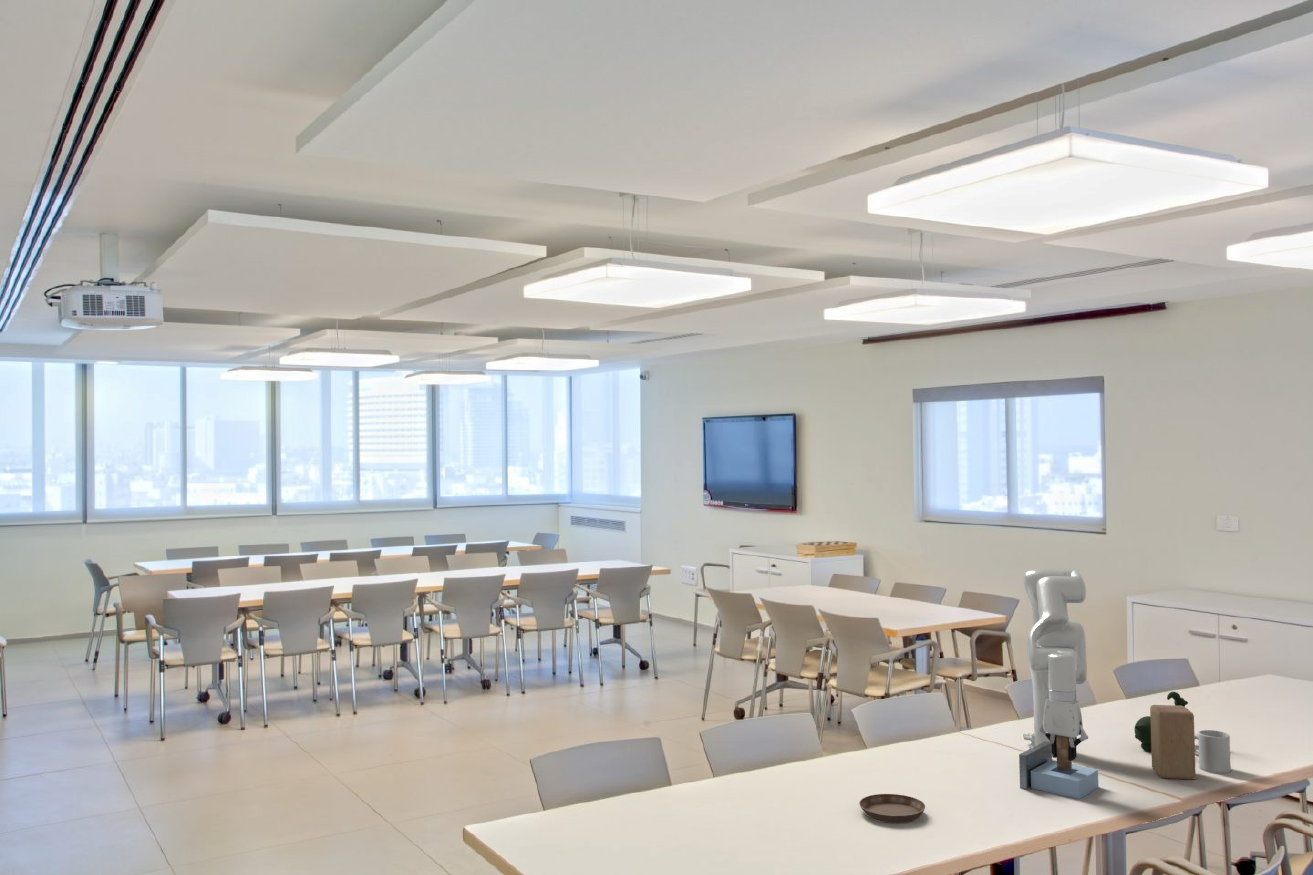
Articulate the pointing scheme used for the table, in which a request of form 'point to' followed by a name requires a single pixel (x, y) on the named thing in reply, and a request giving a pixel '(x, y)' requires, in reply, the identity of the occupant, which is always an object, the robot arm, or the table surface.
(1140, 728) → the toy figurine
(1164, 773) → the wooden block
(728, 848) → the table surface
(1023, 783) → the backstop wall
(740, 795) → the table surface
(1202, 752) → the mug
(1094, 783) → the socket block
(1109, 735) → the table surface
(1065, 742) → the dowel
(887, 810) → the plant saucer
